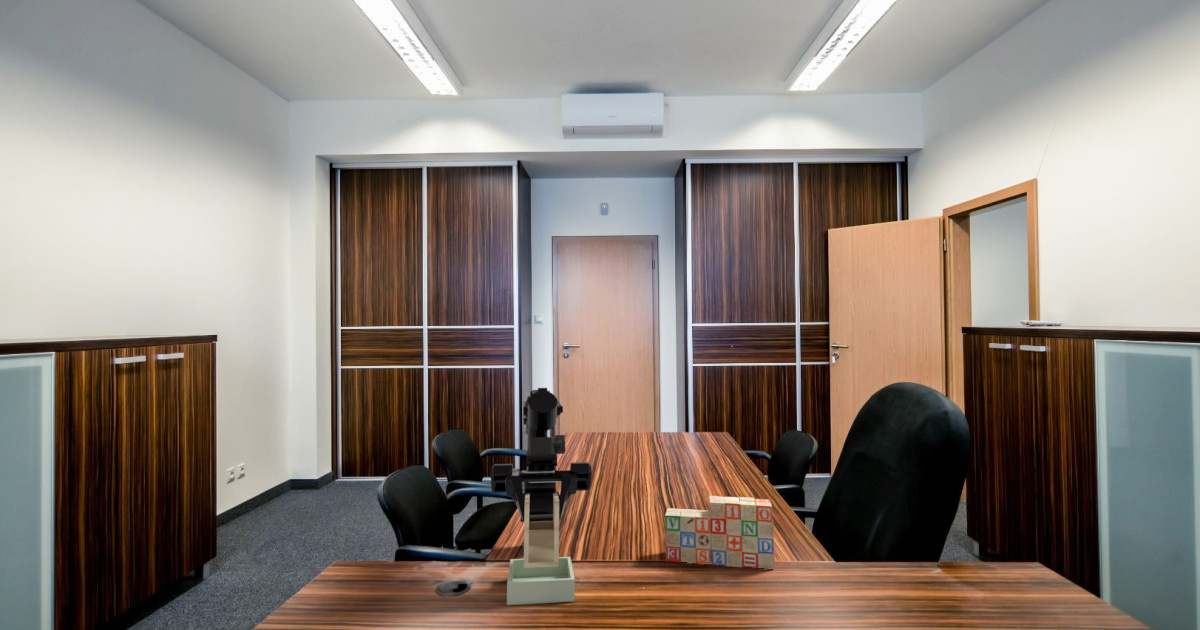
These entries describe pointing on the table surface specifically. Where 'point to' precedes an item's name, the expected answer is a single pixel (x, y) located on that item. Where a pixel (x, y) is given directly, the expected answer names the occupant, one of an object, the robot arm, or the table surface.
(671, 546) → the stack of blocks
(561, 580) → the box
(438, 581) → the table surface
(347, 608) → the table surface
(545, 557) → the small magazine holder
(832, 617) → the table surface
